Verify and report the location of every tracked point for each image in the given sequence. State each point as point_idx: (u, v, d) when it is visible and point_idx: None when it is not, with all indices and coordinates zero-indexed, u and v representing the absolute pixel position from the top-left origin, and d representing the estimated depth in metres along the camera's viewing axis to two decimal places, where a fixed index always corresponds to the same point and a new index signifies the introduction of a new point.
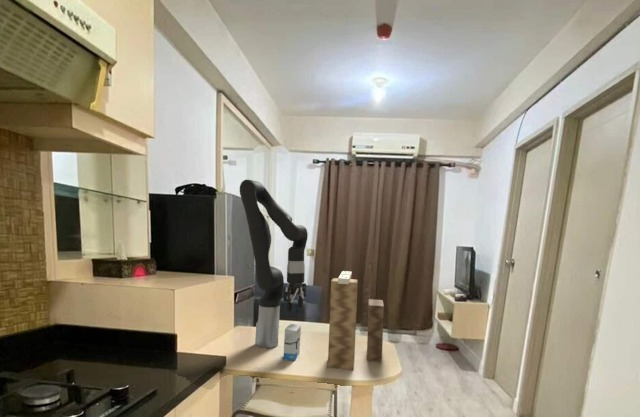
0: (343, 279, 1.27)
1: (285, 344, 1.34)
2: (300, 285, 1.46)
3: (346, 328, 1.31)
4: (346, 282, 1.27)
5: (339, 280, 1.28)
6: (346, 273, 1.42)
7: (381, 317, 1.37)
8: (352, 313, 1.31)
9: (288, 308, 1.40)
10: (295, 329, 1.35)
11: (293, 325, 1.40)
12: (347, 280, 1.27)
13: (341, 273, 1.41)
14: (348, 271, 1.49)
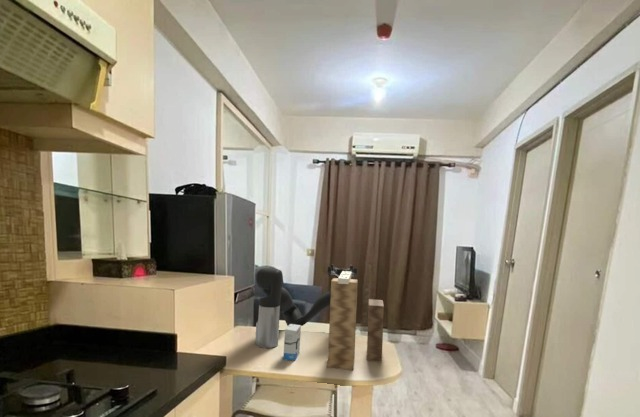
0: (343, 279, 1.27)
1: (285, 344, 1.34)
2: None
3: (346, 328, 1.31)
4: (346, 282, 1.27)
5: (339, 280, 1.28)
6: (346, 273, 1.42)
7: (381, 317, 1.37)
8: (352, 313, 1.31)
9: None
10: (295, 329, 1.35)
11: (293, 325, 1.40)
12: (347, 280, 1.27)
13: (341, 273, 1.41)
14: (348, 271, 1.49)
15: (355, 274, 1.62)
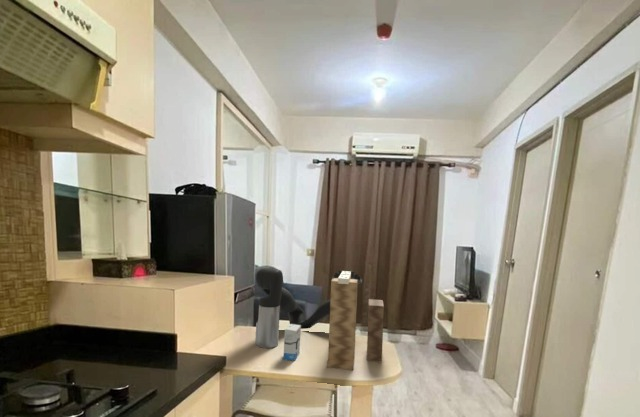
0: (343, 279, 1.27)
1: (285, 344, 1.34)
2: None
3: (346, 328, 1.31)
4: (346, 282, 1.27)
5: (339, 280, 1.27)
6: (346, 273, 1.42)
7: (381, 317, 1.37)
8: (352, 313, 1.31)
9: None
10: (295, 329, 1.35)
11: (293, 325, 1.40)
12: (347, 280, 1.27)
13: (341, 273, 1.41)
14: (348, 271, 1.48)
15: None
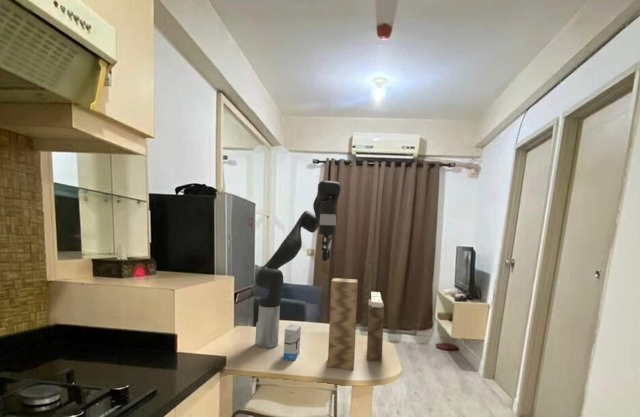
0: (377, 303, 1.35)
1: (285, 344, 1.34)
2: None
3: (346, 328, 1.31)
4: (379, 306, 1.35)
5: (373, 304, 1.35)
6: (376, 295, 1.49)
7: (381, 317, 1.37)
8: (352, 313, 1.31)
9: (327, 255, 1.59)
10: (295, 329, 1.35)
11: (293, 325, 1.40)
12: (380, 304, 1.35)
13: (371, 295, 1.49)
14: (377, 292, 1.56)
15: (327, 247, 1.48)
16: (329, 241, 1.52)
